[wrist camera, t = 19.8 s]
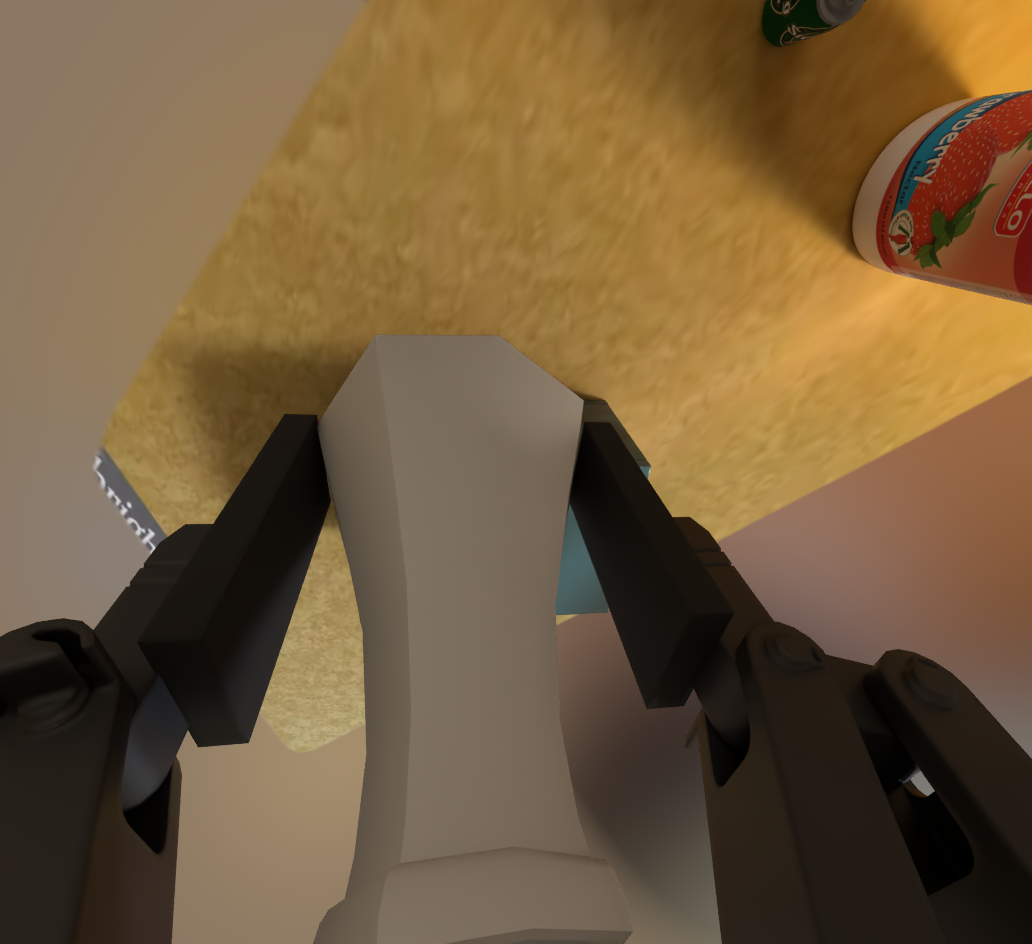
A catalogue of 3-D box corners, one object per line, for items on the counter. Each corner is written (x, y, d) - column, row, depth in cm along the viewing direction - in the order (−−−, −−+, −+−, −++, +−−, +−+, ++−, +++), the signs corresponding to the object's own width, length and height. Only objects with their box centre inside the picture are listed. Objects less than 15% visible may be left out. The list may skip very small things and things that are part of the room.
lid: (362, 617, 32) (360, 625, 32) (338, 458, 25) (335, 465, 24) (605, 605, 35) (607, 613, 34) (647, 460, 28) (651, 466, 27)
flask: (625, 376, 12) (1016, 827, 4) (525, 565, 16) (616, 1012, 7) (342, 278, 10) (-178, 848, 2) (301, 524, 13) (72, 1096, 5)
